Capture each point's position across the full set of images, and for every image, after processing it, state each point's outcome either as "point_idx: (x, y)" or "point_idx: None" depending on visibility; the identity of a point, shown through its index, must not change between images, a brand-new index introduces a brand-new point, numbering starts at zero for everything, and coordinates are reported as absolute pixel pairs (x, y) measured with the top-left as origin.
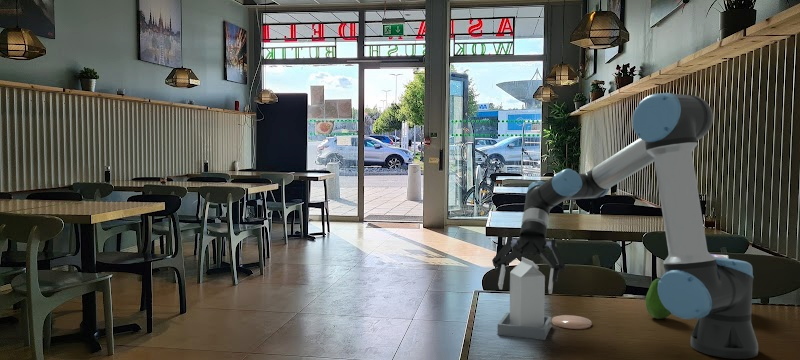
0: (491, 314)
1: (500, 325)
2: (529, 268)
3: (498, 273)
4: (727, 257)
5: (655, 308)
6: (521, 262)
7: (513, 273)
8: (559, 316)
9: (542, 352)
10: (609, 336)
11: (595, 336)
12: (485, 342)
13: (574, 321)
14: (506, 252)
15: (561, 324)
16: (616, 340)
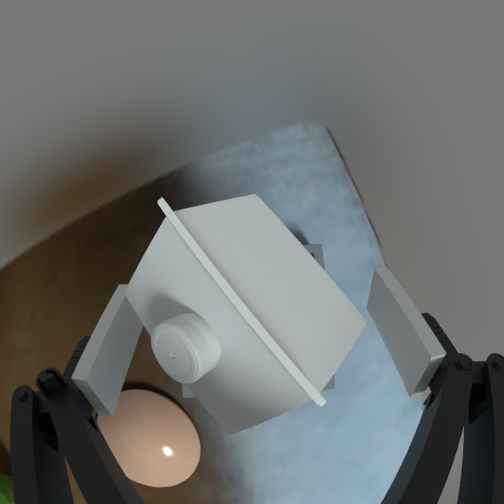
0: (384, 430)
1: (312, 245)
2: (201, 210)
3: (425, 320)
4: None
5: (2, 478)
6: (311, 370)
7: (332, 281)
8: (184, 471)
9: (180, 172)
10: (56, 350)
11: (79, 340)
12: (319, 183)
13: (135, 435)
14: (470, 486)
15: (160, 397)
16: (44, 323)
